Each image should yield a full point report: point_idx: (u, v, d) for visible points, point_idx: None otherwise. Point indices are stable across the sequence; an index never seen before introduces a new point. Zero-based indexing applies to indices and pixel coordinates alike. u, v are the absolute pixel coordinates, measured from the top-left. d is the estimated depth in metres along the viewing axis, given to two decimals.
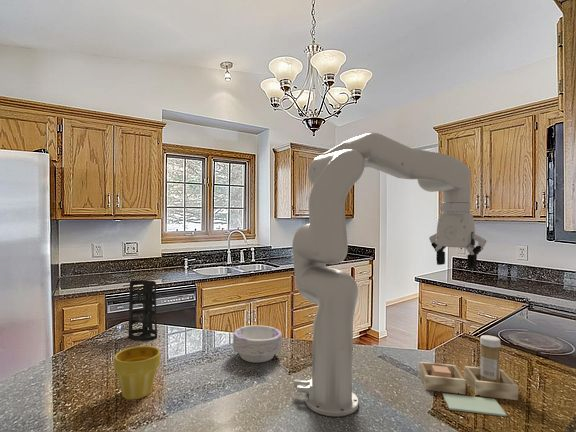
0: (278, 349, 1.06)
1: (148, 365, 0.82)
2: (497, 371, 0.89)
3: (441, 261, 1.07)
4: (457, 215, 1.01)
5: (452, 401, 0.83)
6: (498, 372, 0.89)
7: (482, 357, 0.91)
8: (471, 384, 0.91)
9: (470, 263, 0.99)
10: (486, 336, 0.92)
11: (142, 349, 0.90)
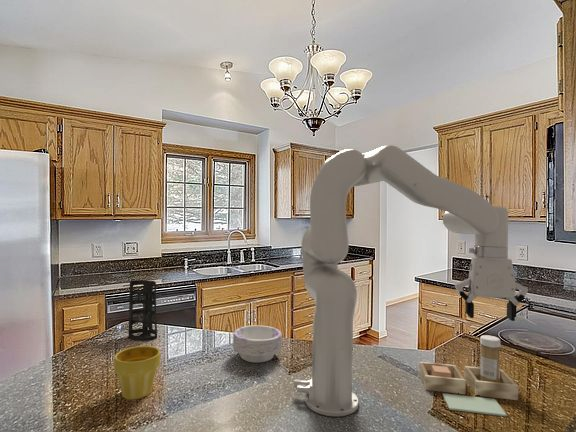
0: (278, 349, 1.06)
1: (148, 365, 0.82)
2: (497, 371, 0.89)
3: None
4: (503, 261, 0.88)
5: (452, 401, 0.83)
6: (498, 372, 0.89)
7: (482, 357, 0.91)
8: (471, 384, 0.91)
9: None
10: (486, 336, 0.92)
11: (142, 349, 0.90)
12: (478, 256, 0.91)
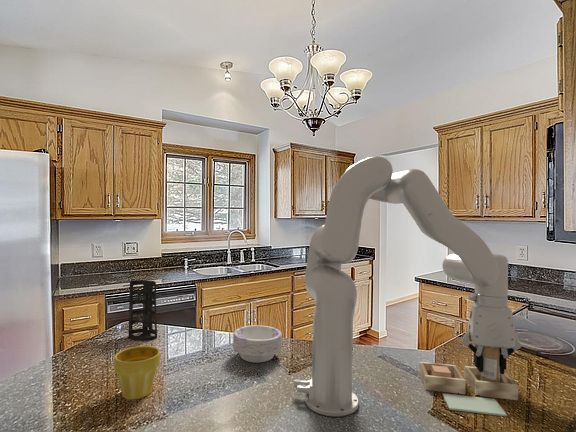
0: (278, 349, 1.06)
1: (148, 365, 0.82)
2: (497, 371, 0.89)
3: None
4: (503, 311, 0.88)
5: (452, 401, 0.83)
6: (498, 372, 0.89)
7: None
8: (471, 384, 0.91)
9: (503, 368, 0.89)
10: None
11: (142, 349, 0.90)
12: (478, 304, 0.90)
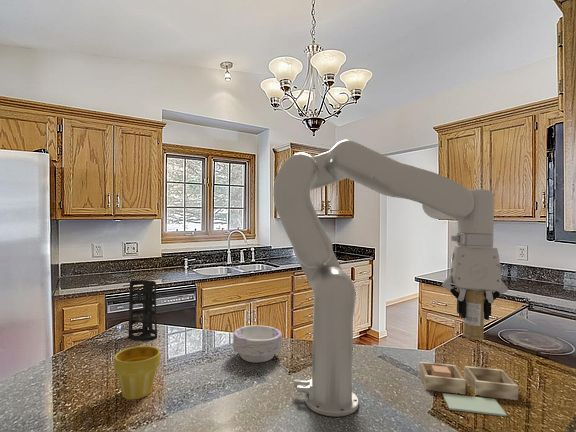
0: (278, 349, 1.06)
1: (148, 365, 0.82)
2: (481, 316, 0.81)
3: None
4: (487, 250, 0.80)
5: (452, 401, 0.83)
6: (482, 318, 0.81)
7: None
8: (471, 384, 0.91)
9: None
10: None
11: (142, 349, 0.90)
12: (461, 244, 0.82)
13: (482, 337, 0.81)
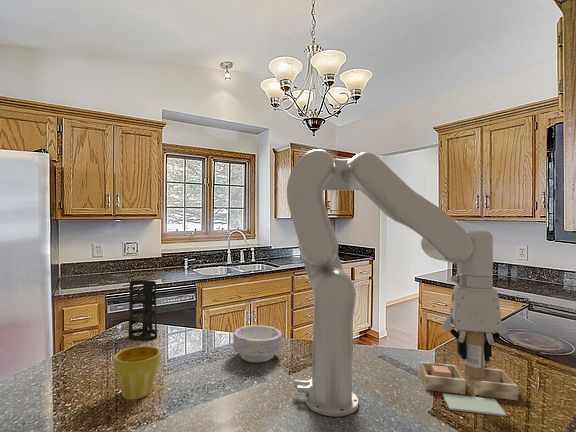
0: (278, 349, 1.06)
1: (148, 365, 0.82)
2: (482, 358, 0.81)
3: None
4: (487, 292, 0.80)
5: (452, 401, 0.83)
6: (483, 359, 0.81)
7: None
8: (471, 384, 0.91)
9: None
10: None
11: (142, 349, 0.90)
12: (460, 285, 0.82)
13: (483, 379, 0.81)
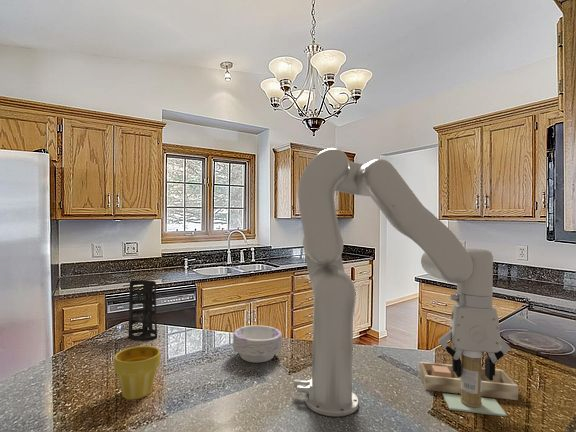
0: (278, 349, 1.06)
1: (148, 365, 0.82)
2: (478, 384, 0.81)
3: None
4: (487, 312, 0.80)
5: (452, 401, 0.83)
6: (480, 385, 0.81)
7: (462, 368, 0.82)
8: None
9: None
10: None
11: (142, 349, 0.90)
12: (460, 304, 0.82)
13: (480, 405, 0.81)
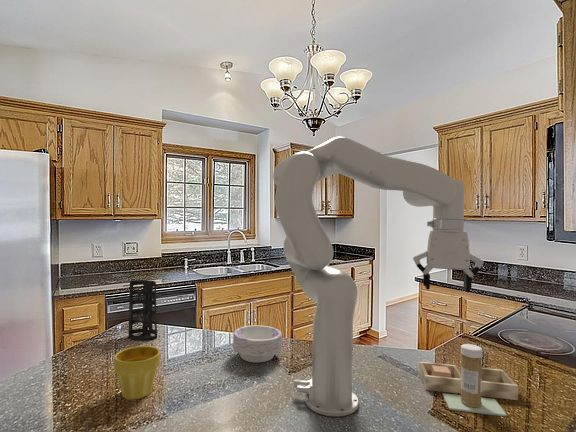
0: (278, 349, 1.06)
1: (148, 365, 0.82)
2: (479, 384, 0.81)
3: None
4: (458, 233, 0.90)
5: (452, 401, 0.83)
6: (480, 385, 0.81)
7: (462, 368, 0.82)
8: None
9: (468, 286, 0.90)
10: (467, 345, 0.84)
11: (142, 349, 0.90)
12: (434, 229, 0.92)
13: (480, 405, 0.81)
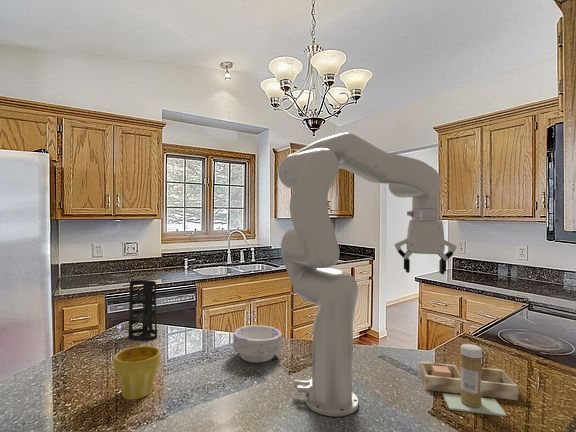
0: (278, 349, 1.06)
1: (148, 365, 0.82)
2: (478, 384, 0.81)
3: None
4: (434, 222, 1.00)
5: (452, 401, 0.83)
6: (480, 385, 0.81)
7: (462, 368, 0.82)
8: None
9: (443, 269, 1.01)
10: (467, 345, 0.84)
11: (142, 349, 0.90)
12: (413, 218, 1.03)
13: (480, 405, 0.81)
